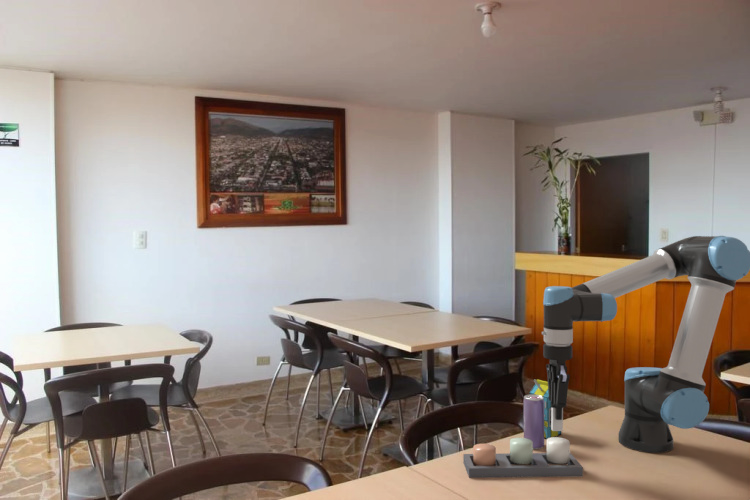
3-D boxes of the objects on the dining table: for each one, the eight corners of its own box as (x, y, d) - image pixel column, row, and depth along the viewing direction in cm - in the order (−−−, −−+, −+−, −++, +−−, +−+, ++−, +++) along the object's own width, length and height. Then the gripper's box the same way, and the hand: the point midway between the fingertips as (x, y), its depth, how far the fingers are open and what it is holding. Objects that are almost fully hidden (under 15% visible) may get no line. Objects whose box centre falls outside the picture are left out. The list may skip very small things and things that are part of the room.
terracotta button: (493, 461, 162) (493, 443, 162) (497, 470, 156) (497, 451, 156) (471, 461, 162) (471, 443, 162) (475, 470, 156) (475, 451, 156)
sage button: (529, 455, 162) (529, 437, 162) (535, 463, 156) (535, 445, 156) (507, 455, 162) (507, 437, 162) (512, 464, 156) (512, 445, 156)
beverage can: (545, 450, 173) (544, 400, 172) (524, 449, 174) (524, 399, 173) (543, 443, 179) (543, 394, 178) (523, 442, 180) (523, 393, 179)
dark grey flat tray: (570, 461, 164) (570, 452, 164) (582, 476, 154) (582, 467, 154) (463, 462, 164) (463, 453, 164) (469, 477, 154) (469, 468, 154)
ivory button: (565, 454, 162) (565, 437, 162) (572, 463, 156) (572, 445, 156) (543, 455, 162) (543, 437, 162) (550, 463, 156) (550, 445, 156)
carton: (527, 434, 187) (526, 377, 186) (542, 429, 191) (542, 374, 191) (546, 440, 181) (546, 382, 180) (561, 435, 186) (561, 378, 185)
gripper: (537, 339, 165) (536, 422, 165) (551, 348, 152) (550, 438, 152) (563, 339, 165) (563, 422, 165) (580, 348, 152) (579, 438, 152)
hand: (556, 430), depth 159 cm, fingers closed
